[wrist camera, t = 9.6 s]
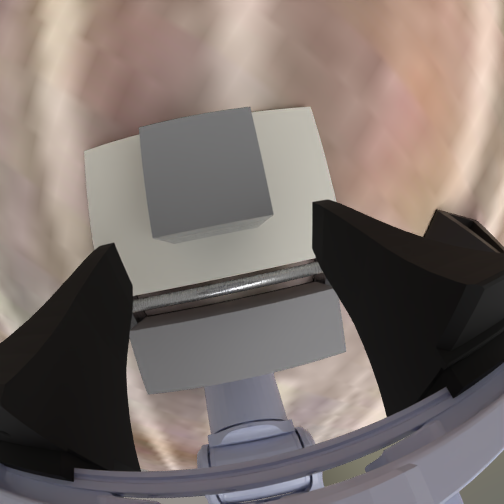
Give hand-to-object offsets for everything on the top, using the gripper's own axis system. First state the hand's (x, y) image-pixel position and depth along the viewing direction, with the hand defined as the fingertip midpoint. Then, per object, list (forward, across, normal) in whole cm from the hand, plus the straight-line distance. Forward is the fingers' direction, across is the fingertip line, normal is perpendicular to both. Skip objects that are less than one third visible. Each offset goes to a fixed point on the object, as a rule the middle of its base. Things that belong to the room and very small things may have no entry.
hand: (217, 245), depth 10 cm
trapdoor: (+8, 0, +5) cm, 9 cm away
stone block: (+6, 0, +1) cm, 6 cm away
